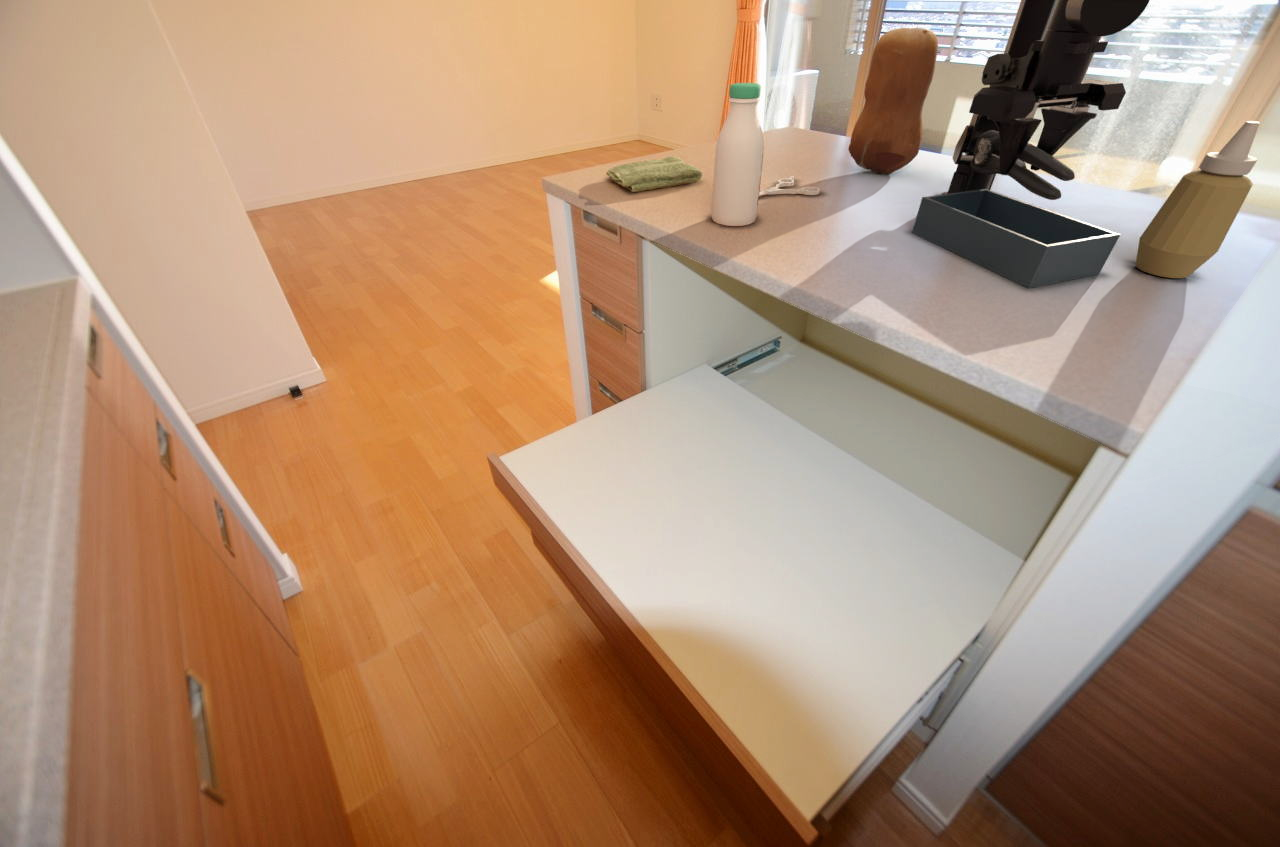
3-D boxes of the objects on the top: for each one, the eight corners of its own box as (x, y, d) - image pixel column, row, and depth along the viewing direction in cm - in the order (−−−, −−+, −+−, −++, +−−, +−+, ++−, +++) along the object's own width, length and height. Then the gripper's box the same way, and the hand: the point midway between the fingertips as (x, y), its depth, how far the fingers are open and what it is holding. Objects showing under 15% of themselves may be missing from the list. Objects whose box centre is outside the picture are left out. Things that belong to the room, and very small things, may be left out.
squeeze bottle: (1110, 261, 76) (1189, 117, 65) (1164, 258, 77) (1251, 114, 65) (1158, 285, 70) (1254, 130, 59) (1216, 281, 70) (1322, 127, 59)
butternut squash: (892, 162, 121) (927, 24, 105) (924, 178, 111) (969, 27, 95) (833, 165, 120) (860, 26, 104) (860, 182, 109) (895, 30, 94)
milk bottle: (755, 228, 89) (771, 87, 77) (708, 226, 91) (717, 87, 78) (756, 213, 95) (772, 80, 83) (713, 211, 96) (721, 80, 84)
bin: (972, 223, 89) (985, 188, 86) (1098, 274, 73) (1120, 234, 69) (911, 232, 86) (922, 197, 83) (1028, 288, 70) (1047, 246, 66)
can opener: (953, 168, 81) (967, 126, 77) (997, 167, 81) (1013, 125, 78) (1030, 203, 67) (1051, 154, 64) (1082, 202, 68) (1107, 153, 64)
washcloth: (603, 178, 115) (602, 162, 113) (678, 169, 120) (678, 153, 118) (625, 195, 105) (624, 177, 103) (705, 184, 110) (706, 167, 108)
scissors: (829, 188, 103) (745, 204, 96) (828, 192, 104) (744, 208, 97) (792, 176, 111) (711, 190, 104) (791, 179, 111) (711, 194, 104)
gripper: (1074, 24, 72) (1023, 152, 82) (959, 30, 68) (921, 164, 77) (1159, 28, 63) (1092, 170, 73) (1034, 35, 59) (981, 185, 69)
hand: (1018, 171), depth 73 cm, fingers closed on can opener, 5 cm apart
